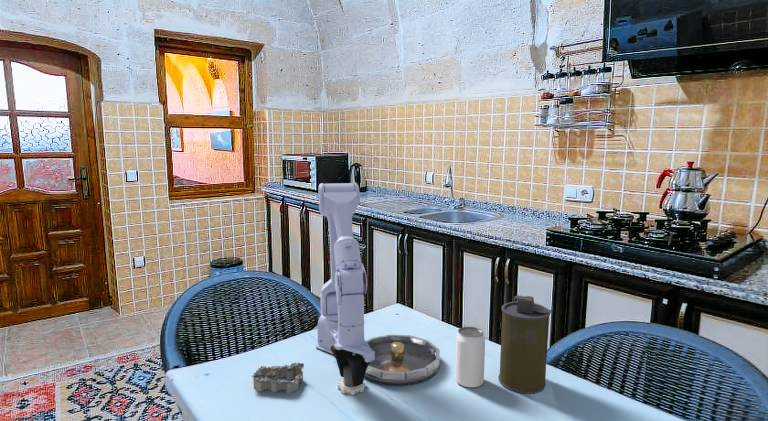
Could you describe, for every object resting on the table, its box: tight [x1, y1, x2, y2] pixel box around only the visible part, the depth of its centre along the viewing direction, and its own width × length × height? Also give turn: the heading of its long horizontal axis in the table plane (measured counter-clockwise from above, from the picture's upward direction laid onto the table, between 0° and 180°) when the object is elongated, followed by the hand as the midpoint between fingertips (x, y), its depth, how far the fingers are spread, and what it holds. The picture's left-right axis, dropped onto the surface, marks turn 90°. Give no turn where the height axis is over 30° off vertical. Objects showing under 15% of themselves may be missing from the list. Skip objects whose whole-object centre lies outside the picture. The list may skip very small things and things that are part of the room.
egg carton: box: [251, 362, 305, 394], centre depth 104 cm, size 11×8×4 cm
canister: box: [498, 295, 553, 395], centre depth 104 cm, size 11×10×20 cm
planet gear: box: [337, 365, 367, 396], centre depth 103 cm, size 6×6×4 cm
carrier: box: [364, 334, 441, 387], centre depth 113 cm, size 21×21×5 cm
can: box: [454, 326, 486, 389], centre depth 104 cm, size 6×6×12 cm
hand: (351, 379), depth 103 cm, fingers open, 4 cm apart
